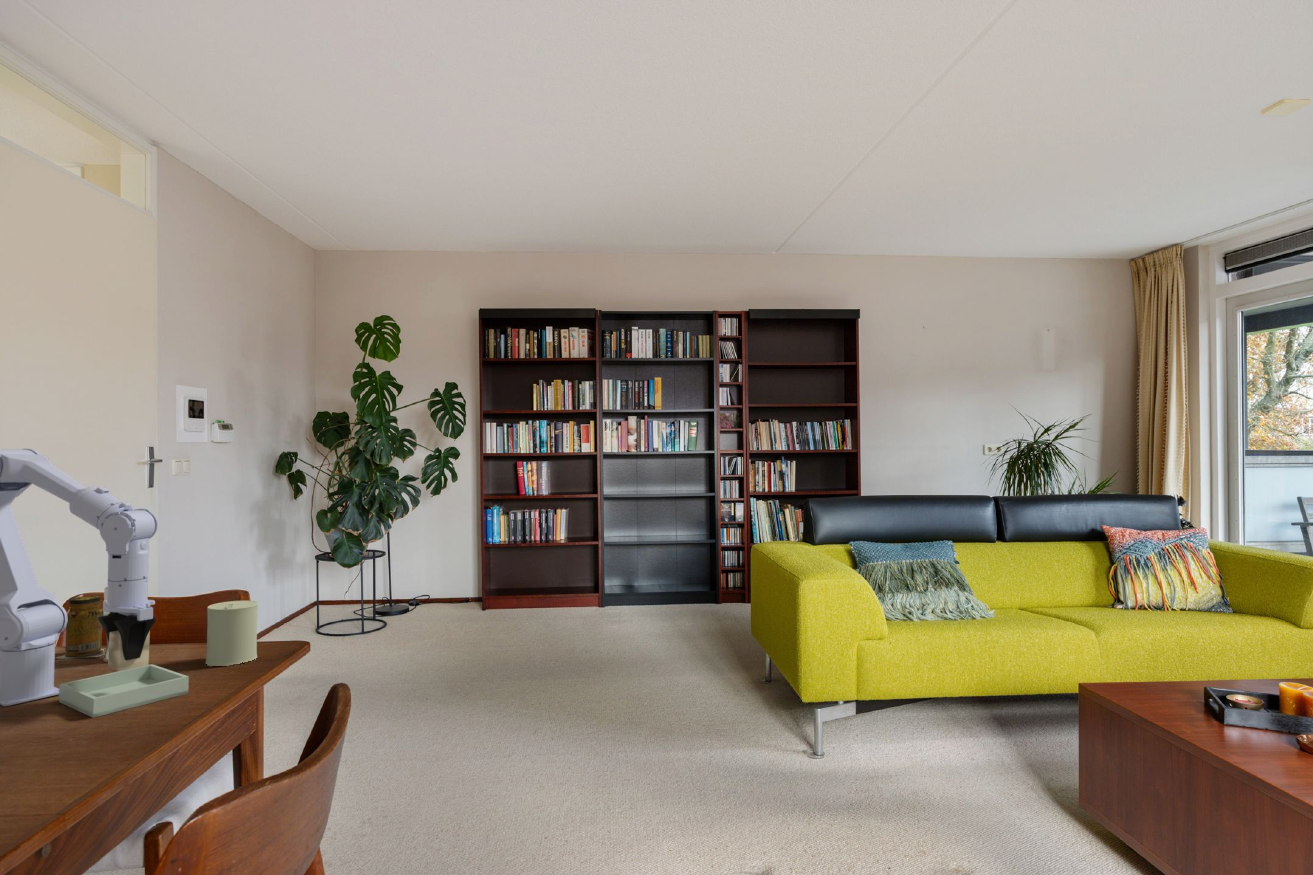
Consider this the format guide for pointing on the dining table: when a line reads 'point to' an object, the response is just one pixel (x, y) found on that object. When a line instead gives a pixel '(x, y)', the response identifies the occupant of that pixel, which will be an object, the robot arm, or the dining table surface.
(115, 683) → the bin
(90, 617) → the condiment
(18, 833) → the dining table surface
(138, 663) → the birch block
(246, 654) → the can
